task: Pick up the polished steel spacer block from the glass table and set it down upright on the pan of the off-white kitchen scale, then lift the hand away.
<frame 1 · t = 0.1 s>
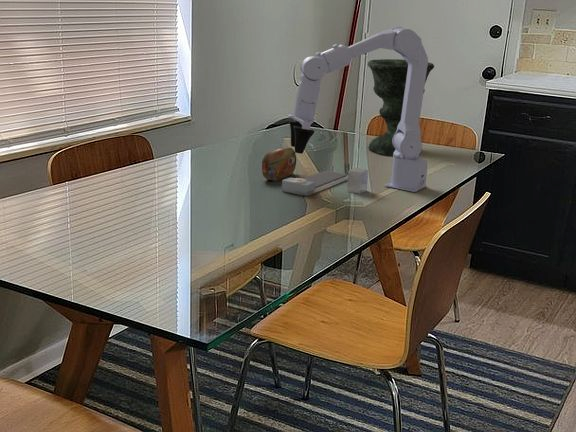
hand: (296, 149, 206), 11 cm above the table, tool pointing down, fingers open, 7 cm apart
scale: (316, 184, 212), on the table
goblet: (394, 151, 258), on the table
spacer: (356, 191, 207), on the table
tin: (278, 178, 218), on the table
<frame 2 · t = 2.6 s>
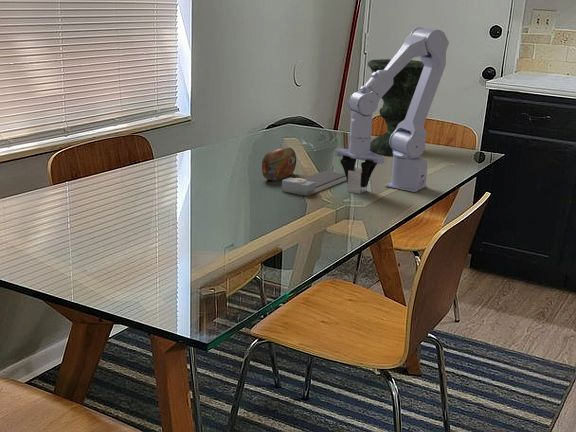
hand: (357, 185, 206), 2 cm above the table, tool pointing down, fingers closed on spacer, 4 cm apart
spacer: (356, 191, 207), on the table, touching gripper
everything else where it was.
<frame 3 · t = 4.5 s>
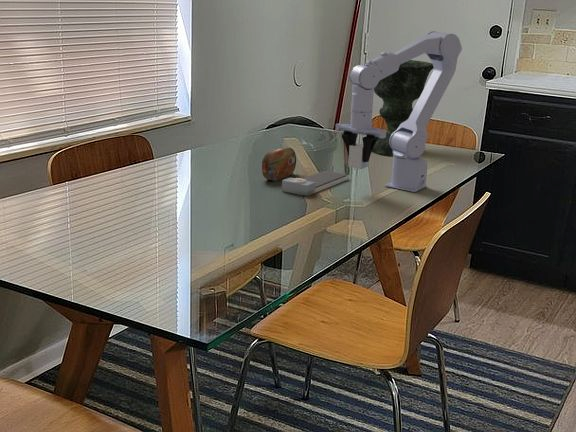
hand: (358, 160, 204), 9 cm above the table, tool pointing down, fingers closed on spacer, 4 cm apart
spacer: (358, 166, 205), point 7 cm above the table, touching gripper
everything else where it was.
when the fingers open (4 cm above the table, at t = 6.7 s): spacer stays where it is, resting on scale.
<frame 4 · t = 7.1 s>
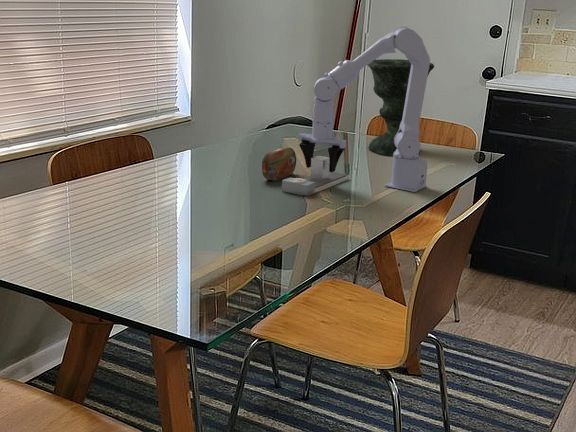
hand: (320, 169, 212), 4 cm above the table, tool pointing down, fingers open, 7 cm apart
spacer: (320, 178, 213), point 1 cm above the table, touching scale
everything else where it was.
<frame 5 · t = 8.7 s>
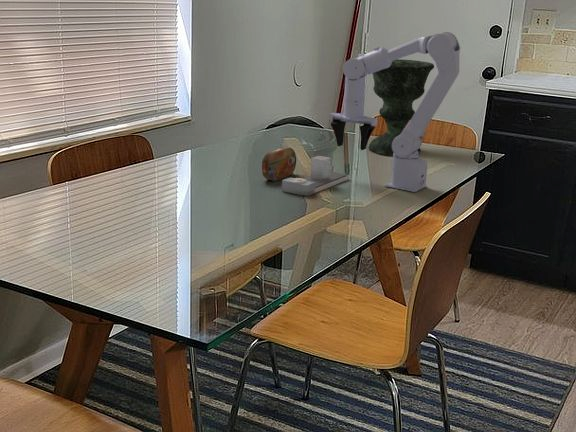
hand: (351, 147, 217), 9 cm above the table, tool pointing down, fingers open, 7 cm apart
nothing on the table moved.
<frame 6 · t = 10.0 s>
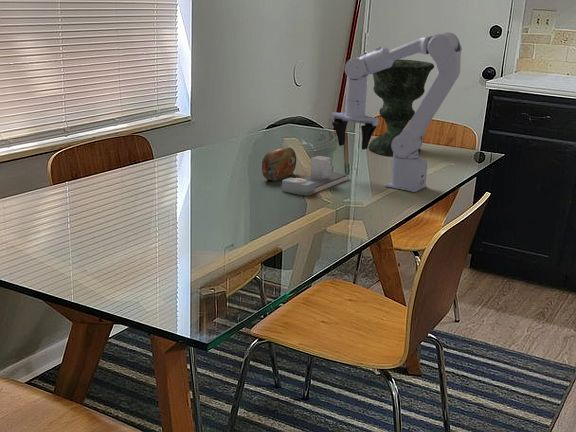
hand: (352, 147, 217), 9 cm above the table, tool pointing down, fingers open, 7 cm apart
nothing on the table moved.
at the end: spacer 0.1 cm from the target spot on the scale, point 1.5 cm above the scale's base; spacer tilted 0°; the gripper is holding nothing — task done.
